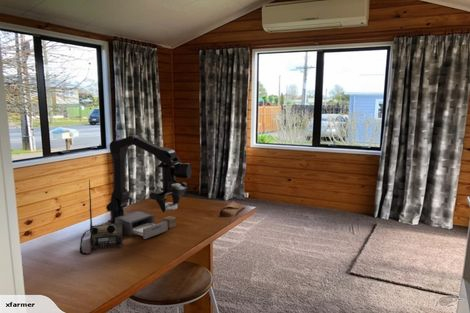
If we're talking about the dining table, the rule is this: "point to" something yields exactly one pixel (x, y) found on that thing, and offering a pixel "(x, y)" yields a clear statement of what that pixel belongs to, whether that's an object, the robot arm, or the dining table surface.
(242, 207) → the sunglasses case
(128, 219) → the grey drawer cabinet
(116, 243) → the radio
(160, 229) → the tray
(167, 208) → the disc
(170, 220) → the walnut block
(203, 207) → the dining table surface
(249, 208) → the dining table surface
